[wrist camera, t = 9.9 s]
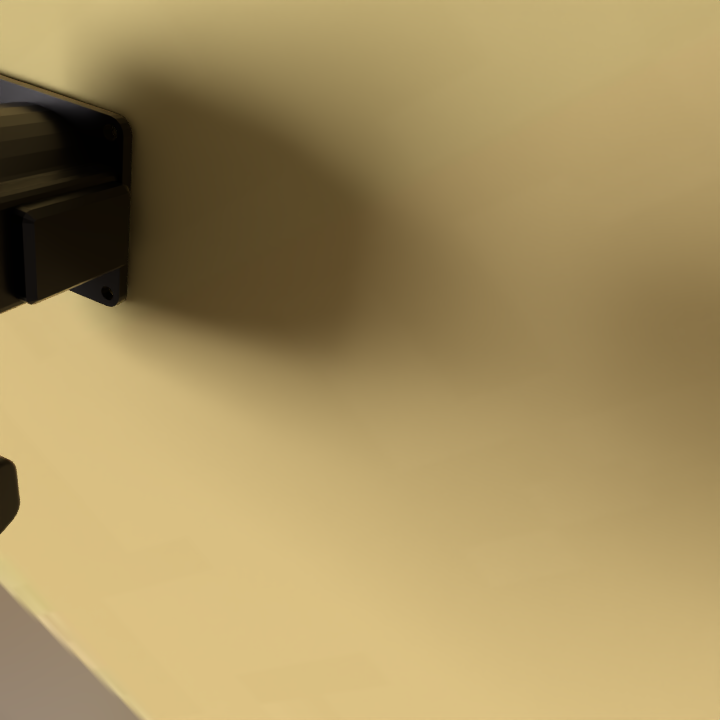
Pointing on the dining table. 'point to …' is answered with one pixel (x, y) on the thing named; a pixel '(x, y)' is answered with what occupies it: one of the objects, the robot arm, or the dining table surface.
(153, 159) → the dining table surface
